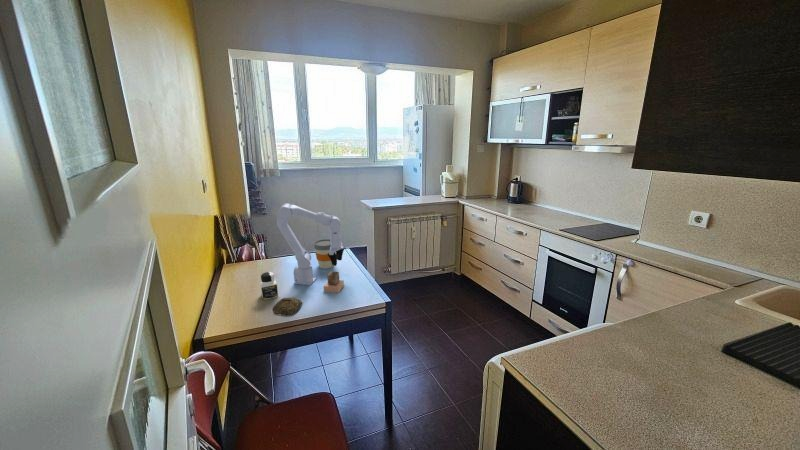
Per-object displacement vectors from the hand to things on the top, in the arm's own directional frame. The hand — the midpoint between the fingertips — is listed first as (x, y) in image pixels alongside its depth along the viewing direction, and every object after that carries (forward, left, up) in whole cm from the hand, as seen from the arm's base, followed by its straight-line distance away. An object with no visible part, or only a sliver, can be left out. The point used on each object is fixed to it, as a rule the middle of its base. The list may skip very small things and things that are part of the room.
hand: (337, 262), depth 181 cm
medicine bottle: (-27, -24, -10) cm, 38 cm away
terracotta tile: (+2, -11, -10) cm, 15 cm away
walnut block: (+2, -11, -7) cm, 13 cm away
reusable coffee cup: (-14, +17, -10) cm, 24 cm away
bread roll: (-12, -34, -10) cm, 37 cm away
